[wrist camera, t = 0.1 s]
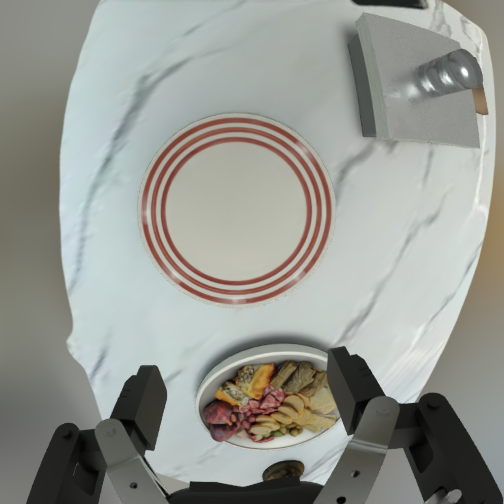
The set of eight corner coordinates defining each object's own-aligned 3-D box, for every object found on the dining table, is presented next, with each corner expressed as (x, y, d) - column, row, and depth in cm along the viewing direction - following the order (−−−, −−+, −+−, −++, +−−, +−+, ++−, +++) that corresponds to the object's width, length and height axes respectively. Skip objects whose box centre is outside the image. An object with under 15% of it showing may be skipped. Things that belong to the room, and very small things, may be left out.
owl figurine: (267, 458, 57) (273, 510, 41) (310, 455, 58) (322, 504, 42) (259, 483, 62) (263, 526, 46) (296, 481, 63) (304, 523, 47)
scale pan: (355, 22, 25) (363, 12, 22) (447, 47, 26) (459, 42, 23) (376, 139, 31) (389, 137, 28) (466, 148, 31) (480, 148, 28)
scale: (347, 44, 32) (367, 23, 24) (429, 60, 32) (455, 49, 24) (362, 136, 36) (388, 131, 29) (443, 142, 37) (473, 142, 29)
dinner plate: (200, 325, 44) (198, 336, 41) (113, 177, 37) (103, 178, 33) (353, 251, 42) (362, 258, 39) (278, 88, 34) (282, 81, 31)
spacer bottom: (415, 60, 24) (431, 52, 21) (441, 67, 24) (458, 61, 21) (422, 93, 26) (440, 88, 22) (447, 99, 26) (466, 95, 22)
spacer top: (432, 52, 21) (451, 43, 17) (458, 61, 21) (477, 55, 17) (440, 88, 22) (461, 82, 18) (466, 95, 22) (486, 91, 18)
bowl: (316, 305, 44) (330, 331, 37) (360, 402, 52) (371, 426, 45) (167, 371, 47) (158, 400, 40) (243, 446, 55) (244, 471, 48)
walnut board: (429, 42, 31) (433, 40, 29) (471, 59, 31) (475, 57, 30) (443, 103, 34) (448, 102, 33) (483, 115, 35) (488, 114, 33)
